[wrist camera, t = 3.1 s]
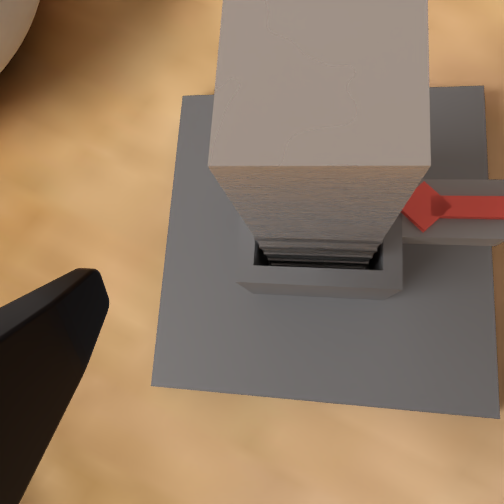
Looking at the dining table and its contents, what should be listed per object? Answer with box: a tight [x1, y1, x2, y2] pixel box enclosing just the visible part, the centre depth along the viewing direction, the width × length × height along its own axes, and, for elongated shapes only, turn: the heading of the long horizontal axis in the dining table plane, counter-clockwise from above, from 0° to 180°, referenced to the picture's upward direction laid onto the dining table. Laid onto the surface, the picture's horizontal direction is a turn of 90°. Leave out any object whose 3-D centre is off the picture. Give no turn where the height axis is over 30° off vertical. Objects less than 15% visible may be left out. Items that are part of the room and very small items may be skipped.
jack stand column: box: [208, 0, 431, 270], centre depth 12 cm, size 4×4×11 cm
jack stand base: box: [151, 86, 504, 419], centre depth 16 cm, size 14×14×5 cm
